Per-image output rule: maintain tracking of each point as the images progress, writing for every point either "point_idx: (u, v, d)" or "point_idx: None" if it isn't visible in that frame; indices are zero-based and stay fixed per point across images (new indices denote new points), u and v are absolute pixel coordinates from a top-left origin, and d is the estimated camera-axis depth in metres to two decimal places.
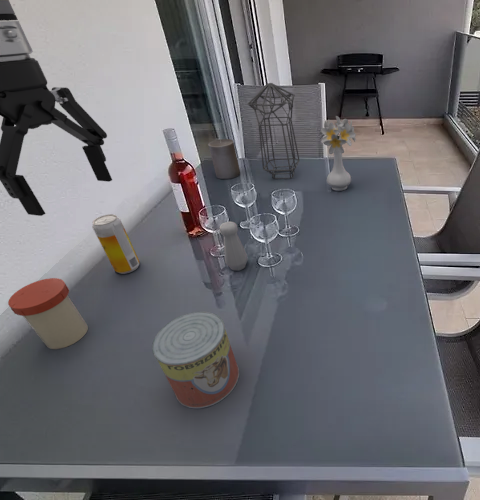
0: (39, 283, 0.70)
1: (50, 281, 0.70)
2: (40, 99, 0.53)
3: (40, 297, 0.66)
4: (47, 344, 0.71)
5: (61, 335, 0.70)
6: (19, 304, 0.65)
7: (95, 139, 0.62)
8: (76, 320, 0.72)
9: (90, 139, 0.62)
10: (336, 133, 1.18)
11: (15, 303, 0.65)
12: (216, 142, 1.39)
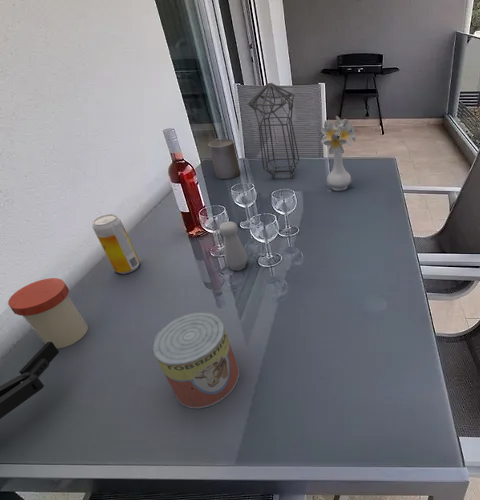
0: (39, 283, 0.70)
1: (50, 281, 0.70)
2: None
3: (40, 297, 0.66)
4: None
5: (61, 335, 0.70)
6: (19, 304, 0.65)
7: None
8: (76, 320, 0.72)
9: None
10: (336, 133, 1.18)
11: (15, 303, 0.65)
12: (216, 142, 1.39)
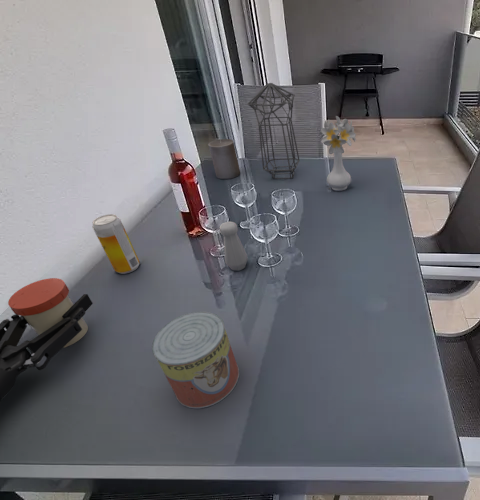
0: (39, 283, 0.70)
1: (50, 281, 0.70)
2: None
3: (40, 297, 0.66)
4: None
5: None
6: (19, 304, 0.65)
7: None
8: None
9: None
10: (336, 133, 1.18)
11: (15, 303, 0.65)
12: (216, 142, 1.39)
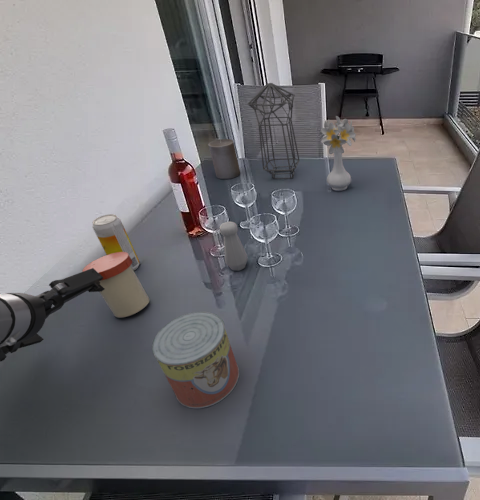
0: (107, 256, 0.77)
1: (116, 254, 0.77)
2: None
3: (108, 265, 0.73)
4: (115, 312, 0.77)
5: (127, 302, 0.76)
6: None
7: (91, 287, 0.64)
8: (140, 289, 0.78)
9: (86, 290, 0.64)
10: (336, 133, 1.18)
11: None
12: (216, 142, 1.39)
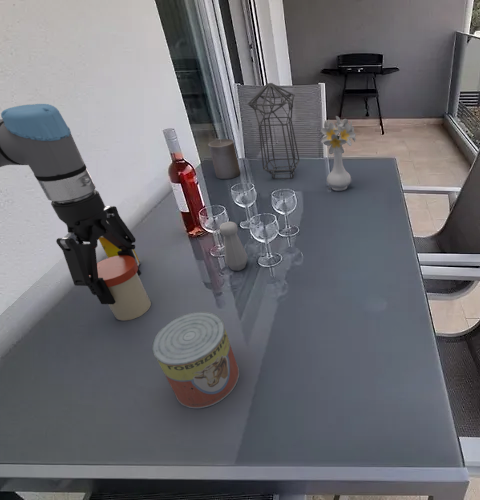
0: (112, 259, 0.76)
1: (122, 258, 0.77)
2: (98, 218, 0.69)
3: (115, 271, 0.73)
4: (117, 316, 0.77)
5: (131, 307, 0.76)
6: None
7: (129, 245, 0.77)
8: (143, 294, 0.79)
9: (125, 245, 0.76)
10: (336, 133, 1.18)
11: None
12: (216, 142, 1.38)
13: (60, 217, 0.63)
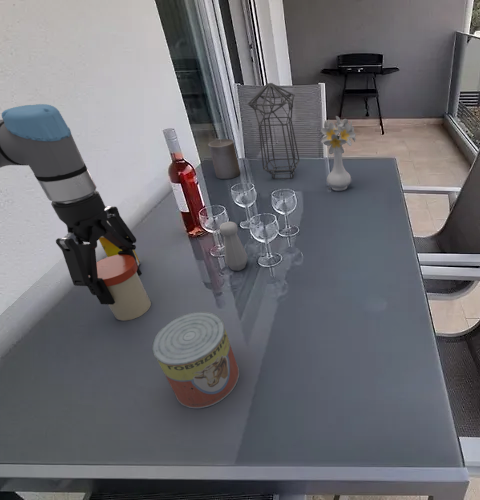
0: (109, 274, 0.71)
1: (99, 276, 0.71)
2: None
3: (108, 262, 0.75)
4: (117, 316, 0.77)
5: (131, 307, 0.76)
6: (124, 257, 0.76)
7: None
8: (143, 294, 0.79)
9: None
10: (336, 133, 1.18)
11: (128, 258, 0.76)
12: (216, 142, 1.39)
13: None
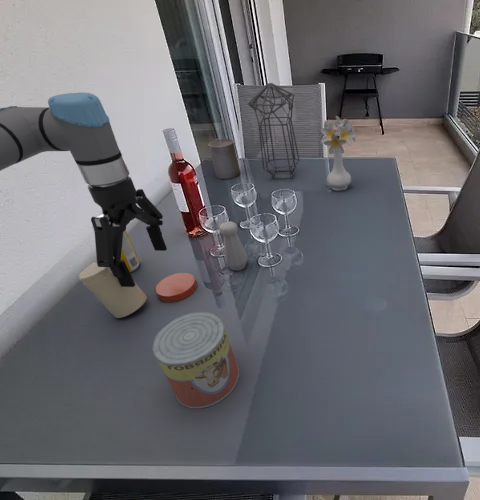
0: (176, 291, 0.82)
1: (167, 293, 0.82)
2: None
3: (171, 279, 0.86)
4: (114, 313, 0.77)
5: (123, 302, 0.76)
6: (185, 275, 0.87)
7: None
8: (134, 288, 0.77)
9: None
10: (336, 133, 1.18)
11: (188, 276, 0.87)
12: (216, 142, 1.38)
13: None
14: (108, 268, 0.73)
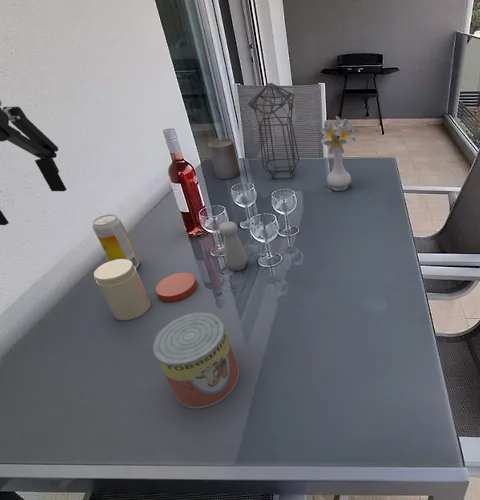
0: (176, 291, 0.82)
1: (167, 293, 0.82)
2: None
3: (171, 279, 0.86)
4: (119, 316, 0.77)
5: (133, 306, 0.77)
6: (185, 275, 0.87)
7: None
8: (144, 293, 0.79)
9: None
10: (336, 133, 1.18)
11: (188, 276, 0.87)
12: (216, 142, 1.38)
13: None
14: (129, 272, 0.74)
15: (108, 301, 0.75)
